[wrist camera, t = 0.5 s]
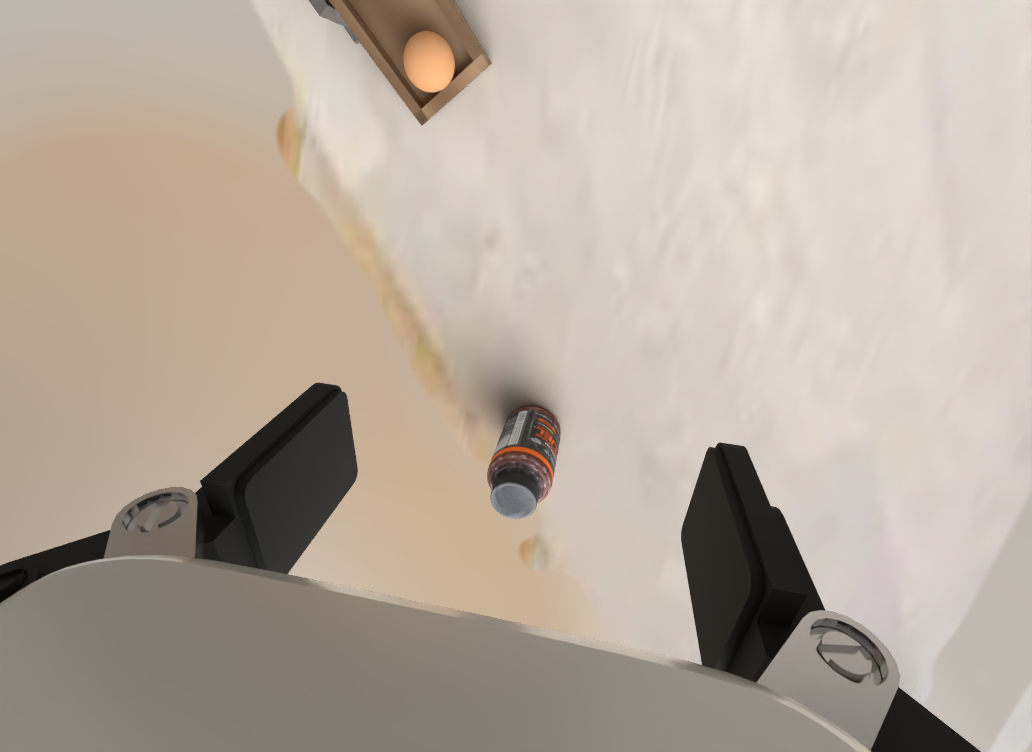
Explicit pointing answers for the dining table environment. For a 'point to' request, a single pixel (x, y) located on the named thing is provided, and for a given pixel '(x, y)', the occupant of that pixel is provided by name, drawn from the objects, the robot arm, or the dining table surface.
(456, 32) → the lever
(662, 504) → the dining table surface
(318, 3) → the fulcrum
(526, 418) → the supplement bottle
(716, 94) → the dining table surface
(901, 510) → the dining table surface
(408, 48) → the ball
